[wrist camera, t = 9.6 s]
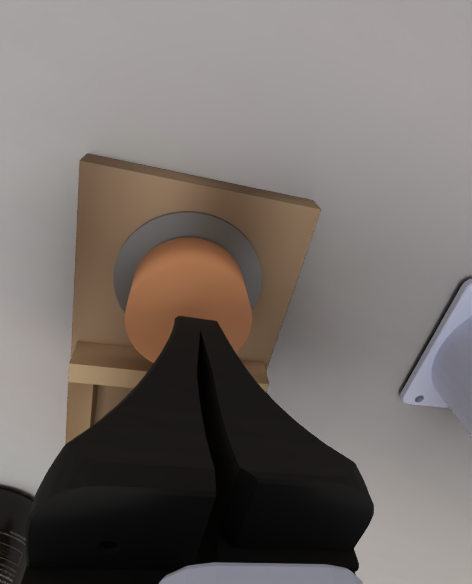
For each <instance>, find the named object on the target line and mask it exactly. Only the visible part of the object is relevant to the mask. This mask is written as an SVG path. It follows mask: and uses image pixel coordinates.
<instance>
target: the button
mask: <svg viewBox="0 0 472 584" xmlns="http://www.w3.org/2000/svg"><path fill="white" fill-rule="evenodd" d="M178 316H185V317H193V318H200V319H207V320H214V321H217V322H218V323H219V325H220V327H221V329H222V330H223V332H224V334H225V336H226V338H227V339H228V341H229V343H230V344H231V346H232V348H233V349H234V351H235V352H236V353H237V352H238V351H239V350H240V348H241V347H242V346H243V344H244V343H245V341H246V340H247V338H248V335H249V333H250V330H251V325H252V310H251V306H250V302H249V298H248V294H247V291H246V287H245V283H244V279H243V275H242V272H241V269H240V267H239V265H238V263H237V262H236V260H235V259H234V258H233V256H232V255H231V254H230V253H229V252H228V251H226V250H225V249H224V248H222V247H221V246H219V245H217V244H215V243H213V242H210V241H208V240H204V239H200V238H192V237H190V238H177V239H173V240H169V241H166V242H164V243H161V244H160V245H158V246H156V247H154V248H153V249H152V250H150V251H149V252H148V253H147V254H146V255H145V256H144V257H143V259H142V260H141V261H140V263H139V265H138V267H137V269H136V271H135V274H134V278H133V282H132V286H131V290H130V294H129V298H128V302H127V306H126V311H125V328H126V332H127V335H128V337H129V339H130V341H131V343H132V344H133V346H134V347H135V349H136V350H137V351H138V352H139V353H140V354H141V355H142V356H144V357H145V358H146V359H148V360H149V361H151V362H153V363H154V362H155V361H156V359H157V358H158V356H159V355H160V353H161V352H162V350H163V348H164V346H165V344H166V342H167V341H168V339H169V337H170V334H171V332H172V330H173V326H174V321H175V318H176V317H178Z"/></svg>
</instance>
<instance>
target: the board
mask: <svg viewBox="0 0 472 584" xmlns="http://www.w3.org/2000/svg"><path fill="white" fill-rule="evenodd" d="M320 212H321V209H320V208H319V207H318V206H317V204H316V203H315V202H314V201H313V200H308V199H303V198H299V197H294V196H289V195H284V194H279V193H274V192H270V191H265V190H260V189H255V188H250V187H246V186H241V185H236V184H231V183H226V182H221V181H217V180H212V179H207V178H202V177H197V176H193V175H188V174H183V173H178V172H173V171H168V170H164V169H159V168H154V167H149V166H144V165H140V164H135V163H130V162H125V161H120V160H115V159H111V158H106V157H101V156H96V155H91V154H86V155H85V156H84V157H83V158H82V159H81V160H80V165H79V188H78V211H77V233H76V256H75V279H74V301H73V324H72V347H71V360H70V362H69V376H68V400H67V424H66V443H68V442H70V441H71V440H72V439H74V438H75V437H77V436H78V435H80V434H81V433H83V432H84V431H85V430H87V429H88V428H90V427H91V426H92V425H94V424H95V423H96V422H98V421H99V420H100V419H101V418H102V417H104V416H105V415H106V414H107V413H108V412H110V411H111V410H112V409H113V408H114V407H115V406H117V405H118V404H119V403H120V402H121V401H122V400H123V399H124V398H125V397H126V396H127V395H128V394H129V393H130V392H131V391H132V390H133V388H134V387H135V386H136V385H137V384H138V383H139V382H140V381H141V379H142V378H143V377H144V376H145V374H146V373H147V372H148V371H149V369H150V368H151V366H152V365H153V364H154V363H153V362H151V361H149V360H148V359H146V358H145V357H144V356H142V355H141V354H140V353H139V352H138V351H137V350H136V349H135V347H134V346H133V344H132V343H131V341H130V339H129V337H128V335H127V332H126V328H125V311H126V306H127V302H128V298H129V294H130V290H131V286H132V282H133V278H134V274H135V271H136V269H137V267H138V265H139V263H140V261H141V260H142V259H143V257H144V256H145V255H146V254H147V253H148V252H149V251H150V250H152V249H153V248H154V247H156V246H158V245H160V244H161V243H164V242H166V241H169V240H173V239H177V238H190V237H192V238H200V239H204V240H208V241H210V242H213V243H215V244H217V245H219V246H221V247H222V248H224V249H225V250H226V251H228V252H229V253H230V254H231V255H232V256H233V258H234V259H235V260H236V262H237V263H238V265H239V267H240V269H241V272H242V275H243V279H244V283H245V287H246V291H247V294H248V298H249V302H250V306H251V310H252V325H251V330H250V333H249V335H248V338H247V340H246V341H245V343H244V344H243V346H242V347H241V348H240V350H239V351H238V352H237V353H236V354H237V355H238V357H239V358H240V360H241V361H242V363H243V364H244V366H245V367H246V369H247V370H248V371H249V373H250V374H251V375H252V377H253V378H254V379H255V381H256V382H257V383H258V384H259V385H260V386H261V388H262V389H263V390H264V391H265V392H267V389H268V387H269V381H268V377H267V373H266V370H267V367H268V364H269V361H270V358H271V355H272V352H273V349H274V346H275V343H276V340H277V337H278V335H279V332H280V329H281V326H282V323H283V320H284V317H285V314H286V311H287V308H288V305H289V302H290V299H291V297H292V294H293V291H294V288H295V285H296V282H297V279H298V276H299V273H300V270H301V267H302V264H303V262H304V259H305V256H306V253H307V250H308V247H309V244H310V241H311V238H312V235H313V232H314V229H315V226H316V224H317V221H318V218H319V215H320Z"/></svg>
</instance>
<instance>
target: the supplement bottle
mask: <svg viewBox="0 0 472 584" xmlns="http://www.w3.org/2000/svg"><path fill="white" fill-rule="evenodd" d="M32 504H33V501H32V500H30V499H29V498H27V497H25V496H23V495H21V494H19V493H16V492H13V491H10V490H5V489H0V584H21V581H22V578H23V575H24V572H25V569H26V566H27V563H26V531H25V528H26V523H27V518H28V515H29V512H30V509H31V507H32Z"/></svg>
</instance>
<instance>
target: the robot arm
mask: <svg viewBox="0 0 472 584" xmlns="http://www.w3.org/2000/svg"><path fill="white" fill-rule="evenodd" d="M400 398H401V399H402V401H403V402H404V403H406V404H413V405H422V406H432V407H442V408H450V409H451V411H452V412H453V413H454V414H455V416H456V417H457V418H458V420H459V421H460V422H461V424H462V425H463V426H464V428H465V429H466V430H467V432H468V433H469V434H470V436H471V437H472V279H469V280H467V281H465V282H464V283H463V285H462V286H461V288H460V289H459V291H458V293H457V295H456V296H455V298H454V300H453V302H452V303H451V305H450V307H449V309H448V311H447V312H446V314H445V316H444V318H443V319H442V321H441V323H440V325H439V326H438V328H437V330H436V332H435V333H434V335H433V337H432V339H431V341H430V342H429V344H428V346H427V348H426V349H425V351H424V353H423V355H422V356H421V358H420V360H419V362H418V363H417V365H416V367H415V369H414V371H413V372H412V374H411V376H410V378H409V379H408V381H407V383H406V385H405V386H404V388H403V390H402V392H401V394H400ZM373 514H374V505H373V502H372V500H371V497H370V495H369V493H368V490H367V487H366V485H365V482H364V480H363V478H362V476H361V474H360V472H359V470H358V468H357V466H356V464H355V463H354V462H353V461H351V460H350V459H348V458H347V457H345V456H343V455H342V454H340V453H339V452H337V451H336V450H334V449H332V448H331V447H329V446H328V445H326V444H325V443H323V442H322V441H321V440H319V439H318V438H317V437H315V436H314V435H313V434H311V433H310V432H309V431H307V430H306V429H305V428H304V427H302V426H301V425H300V424H299V423H297V422H296V421H295V420H294V419H293V418H292V417H291V416H289V415H288V414H287V413H286V412H285V411H284V410H283V409H282V408H281V407H280V406H279V405H278V404H276V403H275V402H274V401H273V399H272V398H271V397H270V396H269V395H268V394H267V393H266V392H265V391H264V390H263V389H262V388H261V386H260V385H259V384H258V383H257V382H256V381H255V379H254V378H253V377H252V375H251V374H250V373H249V371H248V370H247V369H246V367H245V366H244V364H243V363H242V361H241V360H240V358H239V357H238V355H237V354H236V352H235V351H234V349H233V348H232V346H231V344H230V343H229V341H228V339H227V338H226V336H225V334H224V332H223V330H222V329H221V327H220V325H219V323H218V322H217V321H214V320H207V319H200V318H193V317H185V316H178V317H176V318H175V321H174V326H173V330H172V332H171V334H170V337H169V339H168V341H167V342H166V344H165V346H164V348H163V350H162V352H161V353H160V355H159V356H158V358H157V359H156V361H155V362H154V364H153V365H152V366H151V368H150V369H149V371H148V372H147V373H146V374H145V376H144V377H143V378H142V379H141V381H140V382H139V383H138V384H137V385H136V386H135V387H134V388H133V390H132V391H131V392H130V393H129V394H128V395H127V396H126V397H125V398H124V399H123V400H122V401H121V402H120V403H119V404H118V405H117V406H115V407H114V408H113V409H112V410H111V411H110V412H108V413H107V414H106V415H105V416H104V417H102V418H101V419H100V420H99V421H98V422H96V423H95V424H94V425H92V426H91V427H90V428H88V429H87V430H85V431H84V432H83V433H81V434H80V435H78V436H77V437H75V438H74V439H72V440H71V441H70V442H68V443H66V444H65V446H64V447H63V449H62V450H61V452H60V453H59V455H58V456H57V457H56V459H55V460H54V462H53V464H52V465H51V467H50V468H49V470H48V472H47V473H46V475H45V477H44V479H43V481H42V483H41V485H40V487H39V489H38V491H37V493H36V495H35V498H34V501H33V504H32V507H31V509H30V512H29V515H28V518H27V523H26V528H25V531H26V563H27V566H26V569H25V572H24V575H23V578H22V581H21V584H363V583H362V581H361V580H360V579H359V578H358V577H357V576H356V574H355V571H357V570H358V568H359V563H358V560H357V557H356V554H355V551H354V547H355V546H356V544H357V542H358V541H359V539H360V538H361V536H362V535H363V533H364V532H365V530H366V529H367V527H368V525H369V523H370V521H371V519H372V517H373Z"/></svg>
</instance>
